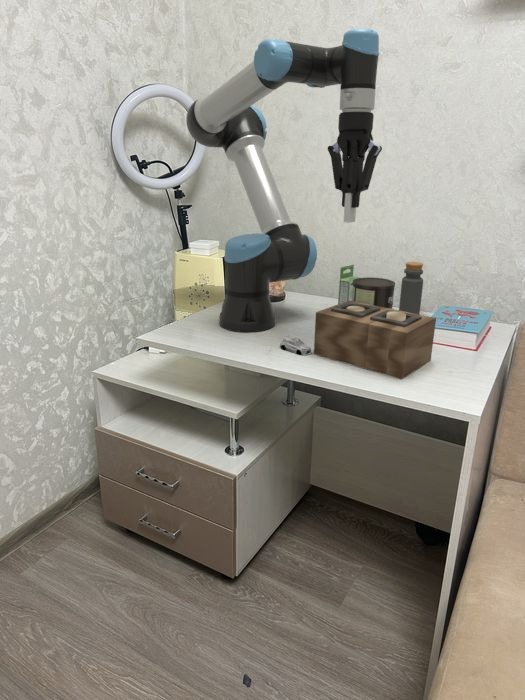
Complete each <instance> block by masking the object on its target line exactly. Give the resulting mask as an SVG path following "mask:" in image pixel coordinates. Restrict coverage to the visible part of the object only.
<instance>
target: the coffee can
mask: <svg viewBox="0 0 525 700" xmlns="http://www.w3.org/2000/svg"><path fill="white" fill-rule="evenodd" d="M395 286H396V282H395V281H394V280H391V279H387V278H383V277H372V276H371V277H368V276H367V277H360V278H357V279H354V280H353V292H352V301H355V302H360V303H365V304H370V305H375V306H379V307H384V308H389V309H393V305H394V304H393V303H394V295H395Z"/></svg>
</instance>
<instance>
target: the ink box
mask: <svg viewBox="0 0 525 700" xmlns="http://www.w3.org/2000/svg"><path fill="white" fill-rule="evenodd" d="M354 266H355V264H351V265H350V264H349V265H346V266H342V267H340V270H339V275H340V276H339V281H338V282H339V283H338V284H339V286H338V297H337V298H338V300H337V305H338V304H340V303H343V302H346V301H349V300H350V301H352V292H353V280H354V279H357V278H361V277H359V276H354ZM346 270H350V272H349V271H348V272H345V271H346ZM344 272H345V273H344Z"/></svg>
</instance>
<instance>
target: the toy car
mask: <svg viewBox="0 0 525 700" xmlns="http://www.w3.org/2000/svg"><path fill="white" fill-rule="evenodd" d="M279 344H280V345H279V348H280V349H281V350H283V351H289V352H291V353H295V354H297V355H299V356H308V355H311V354H312V353H313V352H312V350H311V348H312V347H311V346H310V345H308V344H307V343H305V342H304V341H302V340H301V339H299V338H298V337H297V338H296V337H292V336H290V335H287V336H284V337H282V338H281V341H280V343H279Z"/></svg>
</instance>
